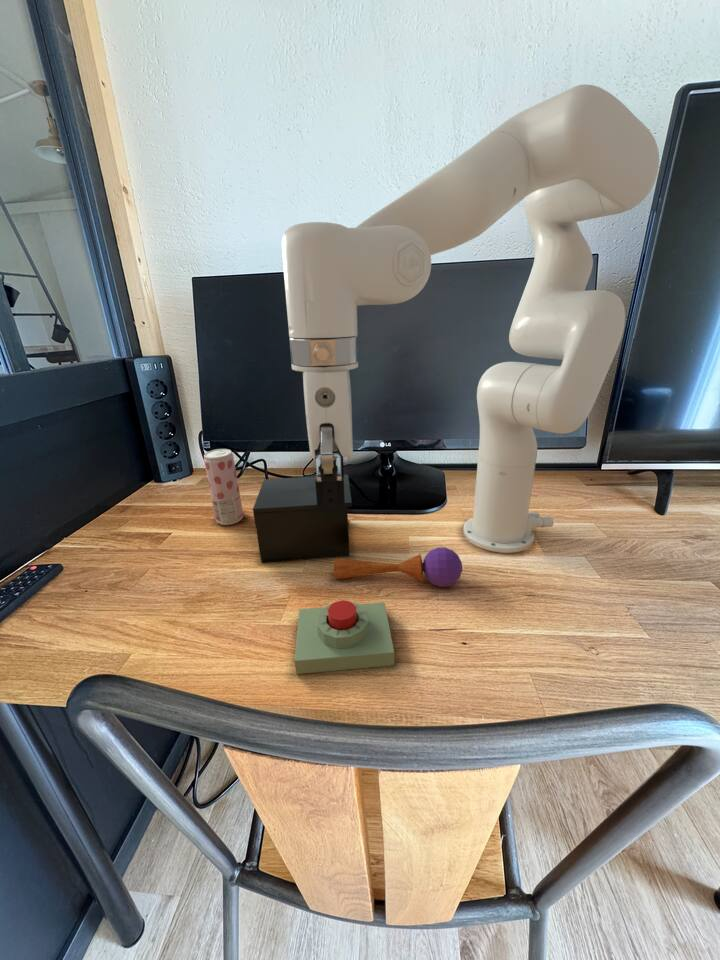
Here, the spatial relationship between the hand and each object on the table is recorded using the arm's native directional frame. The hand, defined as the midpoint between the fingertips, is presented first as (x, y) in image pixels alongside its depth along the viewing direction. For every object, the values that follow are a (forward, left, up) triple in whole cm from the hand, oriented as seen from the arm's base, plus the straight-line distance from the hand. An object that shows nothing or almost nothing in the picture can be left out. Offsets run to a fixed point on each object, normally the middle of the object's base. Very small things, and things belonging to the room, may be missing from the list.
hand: (331, 493), depth 51 cm
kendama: (-9, -6, -19) cm, 22 cm away
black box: (+6, -20, -19) cm, 28 cm away
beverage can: (+23, -31, -19) cm, 42 cm away
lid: (+5, -20, -9) cm, 22 cm away
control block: (0, +6, -19) cm, 20 cm away
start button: (0, +6, -15) cm, 16 cm away
